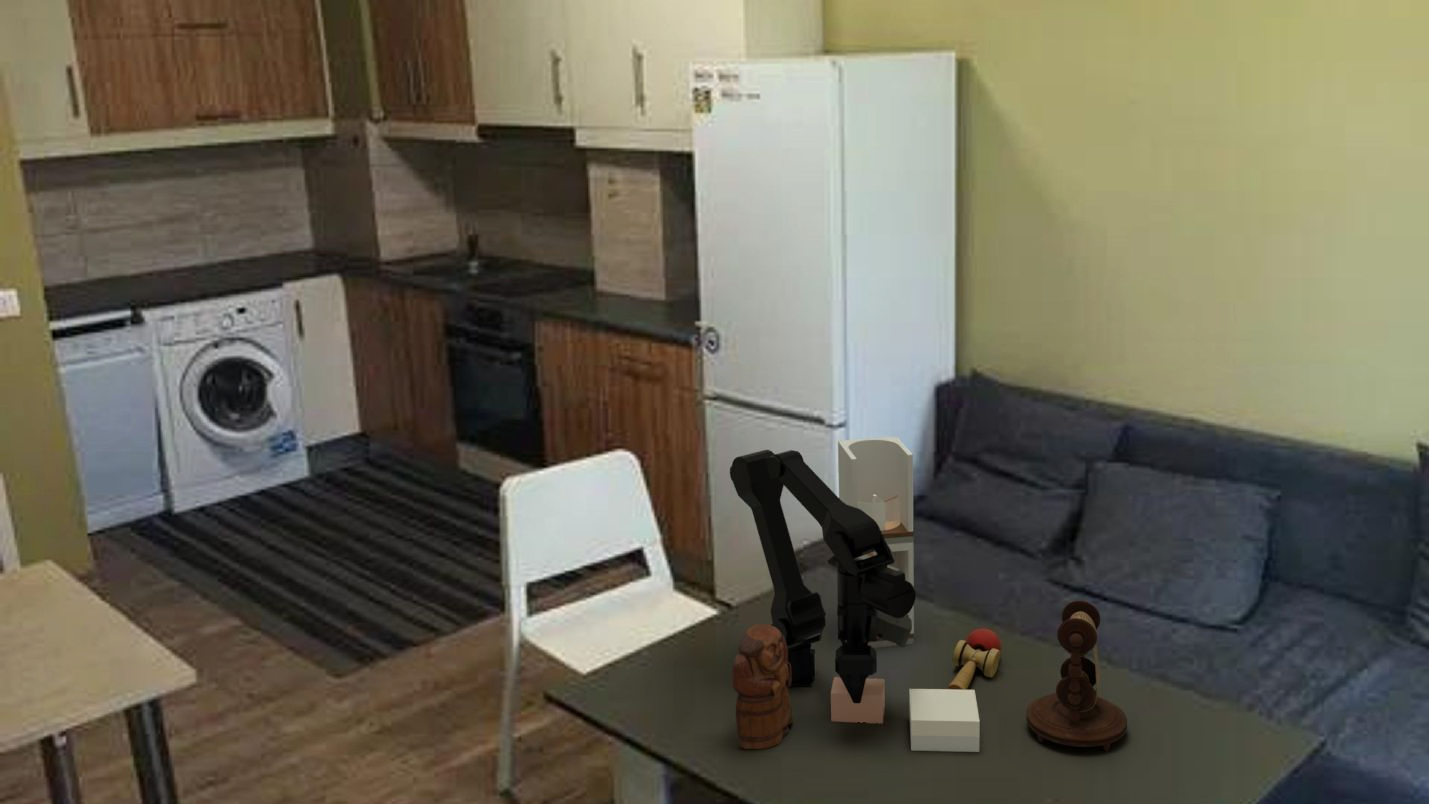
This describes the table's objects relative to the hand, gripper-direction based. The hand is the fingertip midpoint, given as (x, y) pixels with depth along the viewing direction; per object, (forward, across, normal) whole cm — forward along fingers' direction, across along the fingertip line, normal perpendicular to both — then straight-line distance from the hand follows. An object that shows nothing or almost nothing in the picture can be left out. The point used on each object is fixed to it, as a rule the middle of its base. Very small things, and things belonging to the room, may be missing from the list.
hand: (857, 688), depth 203 cm
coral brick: (+4, 0, 0) cm, 5 cm away
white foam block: (+4, -6, -13) cm, 15 cm away
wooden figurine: (+4, -7, +14) cm, 16 cm away
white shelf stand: (+4, +30, -3) cm, 30 cm away
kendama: (+5, +13, -19) cm, 24 cm away
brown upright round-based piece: (+4, -4, -33) cm, 34 cm away
